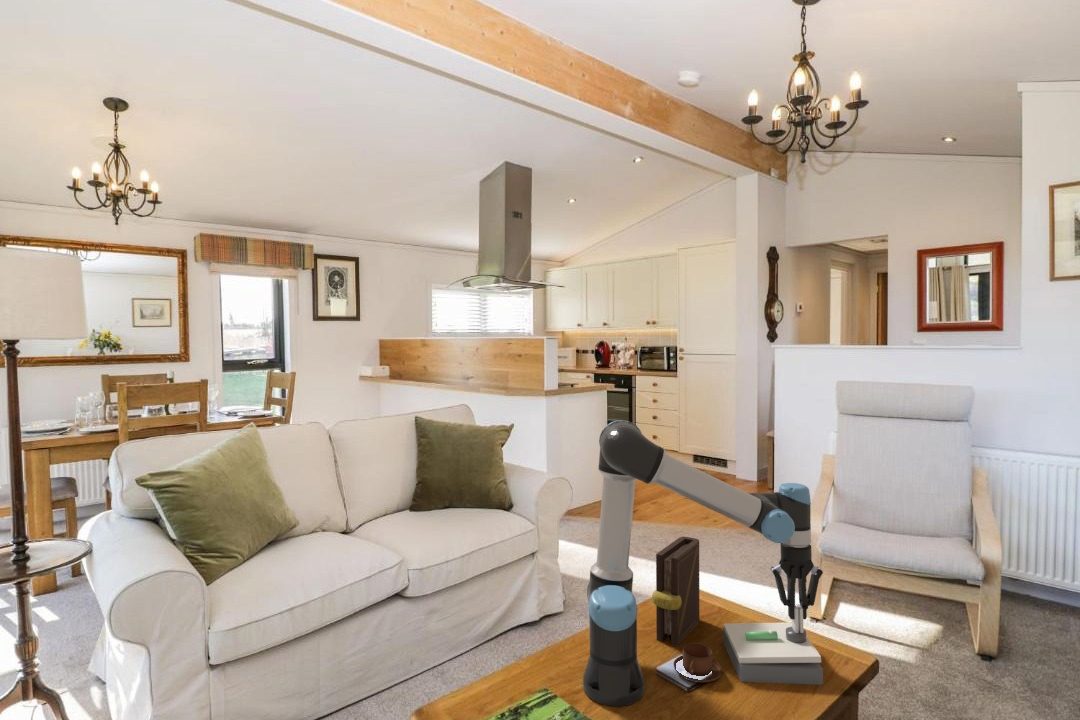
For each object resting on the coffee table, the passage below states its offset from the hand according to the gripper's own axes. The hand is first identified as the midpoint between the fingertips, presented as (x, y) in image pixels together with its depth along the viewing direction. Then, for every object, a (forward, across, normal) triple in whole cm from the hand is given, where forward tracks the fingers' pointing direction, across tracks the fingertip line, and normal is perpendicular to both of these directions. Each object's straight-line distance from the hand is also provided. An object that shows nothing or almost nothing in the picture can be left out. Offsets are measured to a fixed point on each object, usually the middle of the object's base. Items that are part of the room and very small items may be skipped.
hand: (797, 630), depth 156 cm
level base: (+9, +8, 0) cm, 11 cm away
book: (+8, +30, -15) cm, 34 cm away
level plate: (+4, +7, 0) cm, 8 cm away
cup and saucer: (+8, +28, +7) cm, 30 cm away
